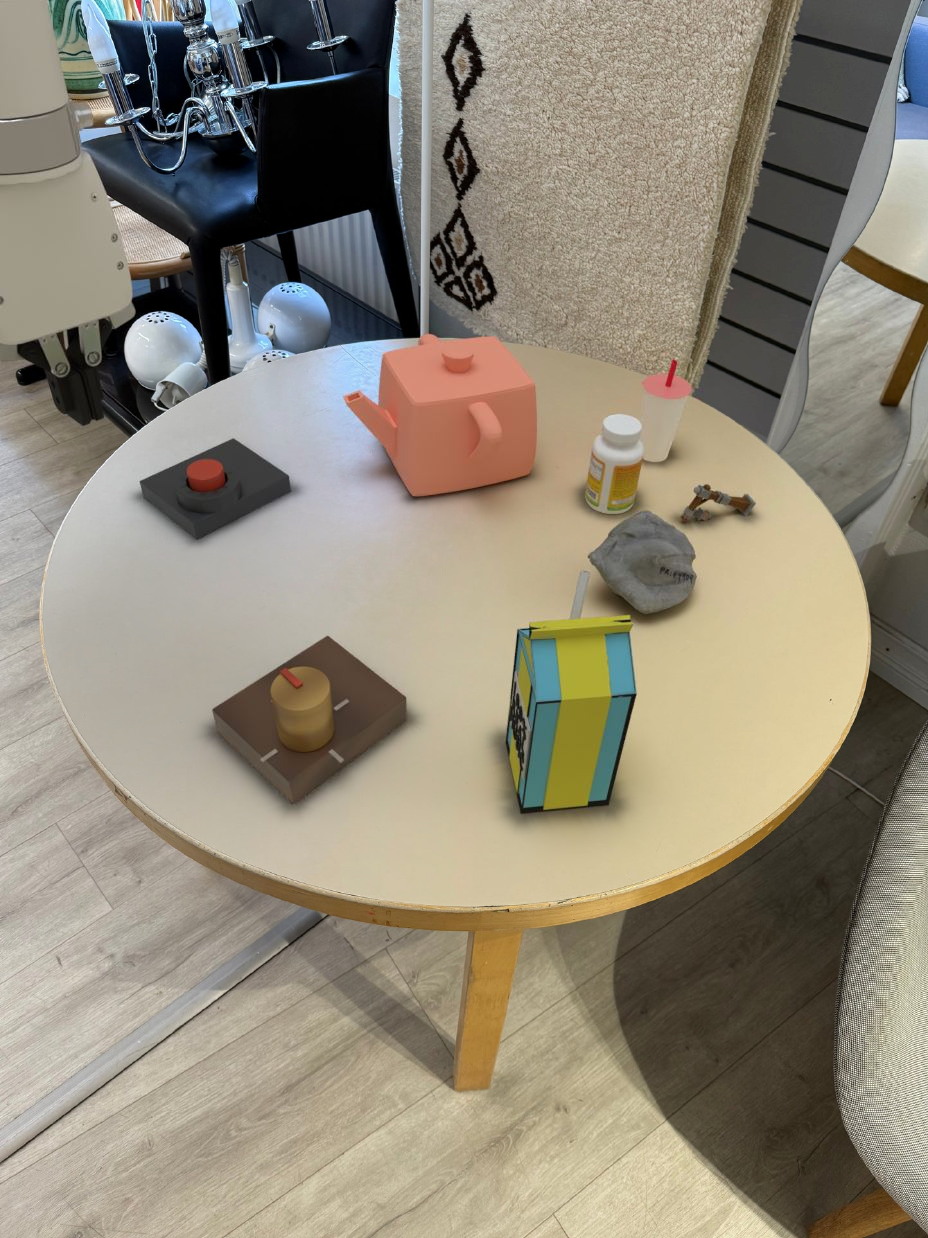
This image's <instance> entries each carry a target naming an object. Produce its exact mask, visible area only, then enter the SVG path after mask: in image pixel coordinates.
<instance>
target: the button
mask: <svg viewBox="0 0 928 1238" xmlns="http://www.w3.org/2000/svg"><path fill="white" fill-rule="evenodd" d="M187 476H188V480H189V485H190V488H191V489H192V490H194V491H197V492H209V491H215V490H217V489H220V488H222V487H223V486H224V485H225V475H224V470H223V466H222V464H221V463H220V462H218V461H216V460H212V459H203V460H198V461H196V462H194V463H192V464H190V465H189V466H188V468H187Z"/></svg>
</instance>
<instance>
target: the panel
mask: <svg viewBox="0 0 928 1238" xmlns="http://www.w3.org/2000/svg"><path fill="white" fill-rule="evenodd" d="M295 667H311V668H315V669H317V670H319V671H321V672H322V673H324V674H325V675H326V677H327V678H328V680H329V682H330V690H331V699H332V708H333V718H334V727H335V728H334V734H333V736H332V738H331V739H330V741H329V742H328V743H327V744H326V745H324V746H323V747H321V748H319V749H317V750H314V751H310V752H297V751H293V750H291V749H289V748H287V747H286V746H284V745H283V744H282V743H281V741H280V739H279V737H278V732H277V726H276V720H275V715H274V709H273V703H272V698H271V686H272V683H273V681H274V680H275V679H276V678H277V676H279V675H280V671H281V670H283V669H285V668H286V669H291V668H295ZM407 709H408V708H407V697H406V696H405V694H403V693H401V692H400V691H399V690H398V689H397V688H395V687H394V686H393V685H392V684H391V683H389V682H387V680H385V679H384V678H383V677H382V676H380V675H379V674H377V673H376V672H375V671H373V670H372V669H371V668H370V667H369V666H368V665H366V664H365V663H363V662H362V660H359V659H358V658H357V657H356V656H355V655H354V654H352V653H351V652H350V651H348V650H347V649H346V648H345V647H343V646H342V645H340V643H338V642H337V641H336V640H334V639H333V638H332V637H330V636H329V635H326V636H324V637H323V638H321V639H320V640H318V641H316V642H315V643H313V644H312V645H310V646H309V647H307V648H305V649H304V650H302V651H301V652H299V653H298V654H295V656H293V657H291V658H289V659H288V660H287V661H285V662H284V663H282V664H280V665H279V666H277V667H275V668H274V669H273V670H271V671H270V672H268V673H266V674H265V675H263V676H262V677H260V678H259V679H257V680H255V681H254V682H252V683H251V684H249V685H247V686H246V687H244V688H243V689H242V690H239V691H238V692H236V693H235V694H234V695H232V696H231V697H229V698H227V699H225V700H224V701H223V702H221V703H219V704H218V705H216V706H215V707H213V708H212V709H211V711H212V715H213V719H214V722H215V727H216V730H217V734H219V735H220V737H222V738H223V739H224V741H226V742H227V743H228V744H229V745H230V746H231V747H232V748H233V749H235V751H236V752H237V753H238V754H240V755H241V756H242V757H243V759H245V760H246V761H247V762H248V763H249V764H250V765H251V766H252V767H253V768H255V770H256V771H257V772H258V773H259V774H261V775H262V777H264V778H265V779H266V780H267V781H268V782H269V783H270V784H271V785H272V786H273V787H274V788H275V789H276V790H277V791H279V792H280V793H281V794H282V795H283V796H284V798H286V800H288V801H289V802H290V803H291V805H295V804H297V803H298V802H300V801H301V800H302V799H304V798H305V797H306V796H308V795H309V794H310V793H311V792H313V791H315V790H316V789H317V788H319V786H321V785H322V784H324V783H325V782H326V781H327V780H329V779H331V778H332V777H333V776H334V775H336V774H338V772H340V771H341V770H343V769H344V768H345V767H346V766H348V765H349V764H350V763H352V762H353V761H354V760H356V759H357V758H358V757H360V756H361V755H362V754H364V753H365V752H366V751H368V750H369V749H370V748H372V747H373V746H375V745H376V744H377V743H378V742H380V741H381V740H383V739H384V738H385V737H387V736H388V735H389V734H391V733H392V732H393V731H394V730H396V729H397V728H398V727H400V726H401V725H403V724H404V723H405V722H407V720H408V714H407Z"/></svg>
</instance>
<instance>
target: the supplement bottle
mask: <svg viewBox="0 0 928 1238" xmlns="http://www.w3.org/2000/svg"><path fill="white" fill-rule="evenodd" d="M640 421H641V420H639V419H638V418H637V417H634V416H632V415H629V414H624V413H616V414H615V413H614V414H610V415H608V416H606V417H605V418H603V421H602V425H601V431H600V432H601V433H600V434H599V435H597V436H596V437H595V439H594V440H593V443H592V446H591V453H590V460H589V466H588V472H587V479H586V485H585V494H584V498H585V501H586V503H587V505H588V506H589V507H590V508H592V509H593V510H594V511H596V512H598V513H602V514H606V515H607V514H608V515H619V514H623V513H626V512H628V511H630V509H631V508H632V507H633V506H634V503H635V501H636V500H635V499H636V496H637V495H636V494H637V490H638V484H639V480H640V475H641V469H642V464H643V460H644V459H643V455H644V447H643V444H642V442H641V441H640V440H639V439H640V436H641V430H642V425H641V422H640Z"/></svg>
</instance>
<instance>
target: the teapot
mask: <svg viewBox="0 0 928 1238" xmlns="http://www.w3.org/2000/svg"><path fill="white" fill-rule="evenodd" d="M378 383H379V385H378V401H377V402H378V403H376V402H374V401H373V400H372V399H370V398H369V397H368V396H367V395H365V394H363V392H362V390H361V389H359V390H357V391H354V392H351V393H348V394H345V395H343V400H344V402H345V404H346V406H347V407H348V409H349V410H350V411H351V412H352V413H353V414H354V415H355V417H357V418H358V420H360V422H361V423H362V424H363V426H365V428H366V429H368V431H369V432H370V433H371V434H372V435H373V437H374V438H376V440H377V441H378V442H379V443H380V444H381V445H382V446H383V447H384V449H385V452H386V453H387V455H388V458H389V459H390V461H391V463H392V464H393V467H394V468H395V470H396V473H397V474H398V475H399V477H400V479H401V481H402V482H403V484H404V486H405V487H406V489H407V491H408V492H409V493H410V495H411V496H412V497H424V496H432V495H439V494H445V493H446V494H447V493H452V492H453V493H454V492H459V491H465V490H469V489H470V490H471V489H475V488H479V487H484V486H490V485H493V484H497V483H503V482H505V481H506V482H507V481H509V480H510V481H511V480H514V479H517V478H521V477H524V476H528V475H530V473H531V472H532V470H533V466H534V463H535V459H536V454H537V442H538V441H537V440H538V407H537V390H536V383H535V382H534V380H533V379H532V378H531V376H530V375H529V374H528V372H527V371H526V370H525V368H524V367H523V366H522V364H521V363H520V362H519V361H518V360H517V359H516V357H515V356H514V355H513V353H512V352H511V351H510V350H509V349H508V348H507V347H506V346H505V344H503V343H502V341H500V339H499V338H498V337H497V336H495V335H489V336H477V337H468V338H460V339H453V340H446V341H442V340H441V339H440V338H439V337H438V336H436V335H435V334H432V333H424V334H422V335H421V336H420V337H419V338H418V341H417V345H415V346H407V347H402V348H399V349H398V348H397V349H393V350H389V351H386V352H384V353H383V354H382V356H381V363H380V373H379V382H378Z"/></svg>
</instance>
